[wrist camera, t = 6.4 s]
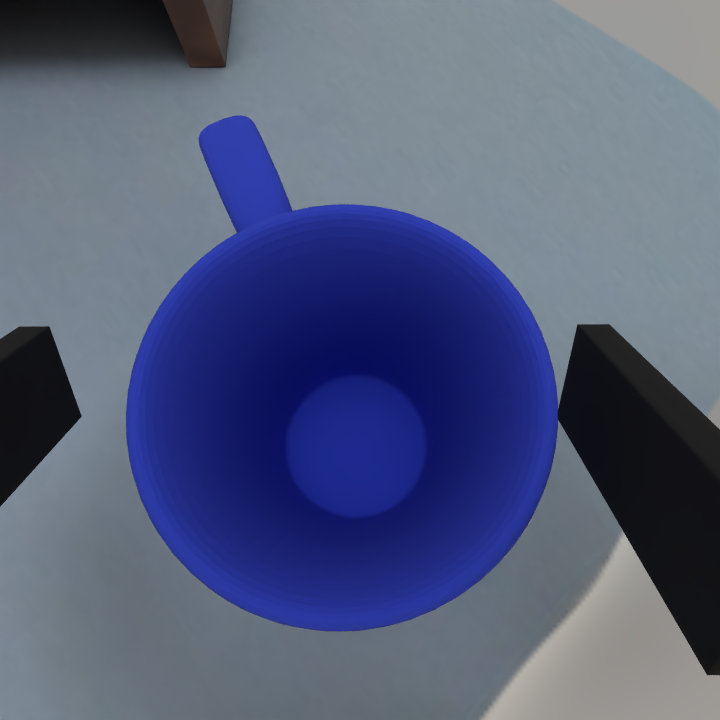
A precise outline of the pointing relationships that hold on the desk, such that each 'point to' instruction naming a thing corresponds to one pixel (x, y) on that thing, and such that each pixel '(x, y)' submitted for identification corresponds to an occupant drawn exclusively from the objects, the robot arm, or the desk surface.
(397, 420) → the mug
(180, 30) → the shelf
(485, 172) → the desk surface
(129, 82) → the desk surface
